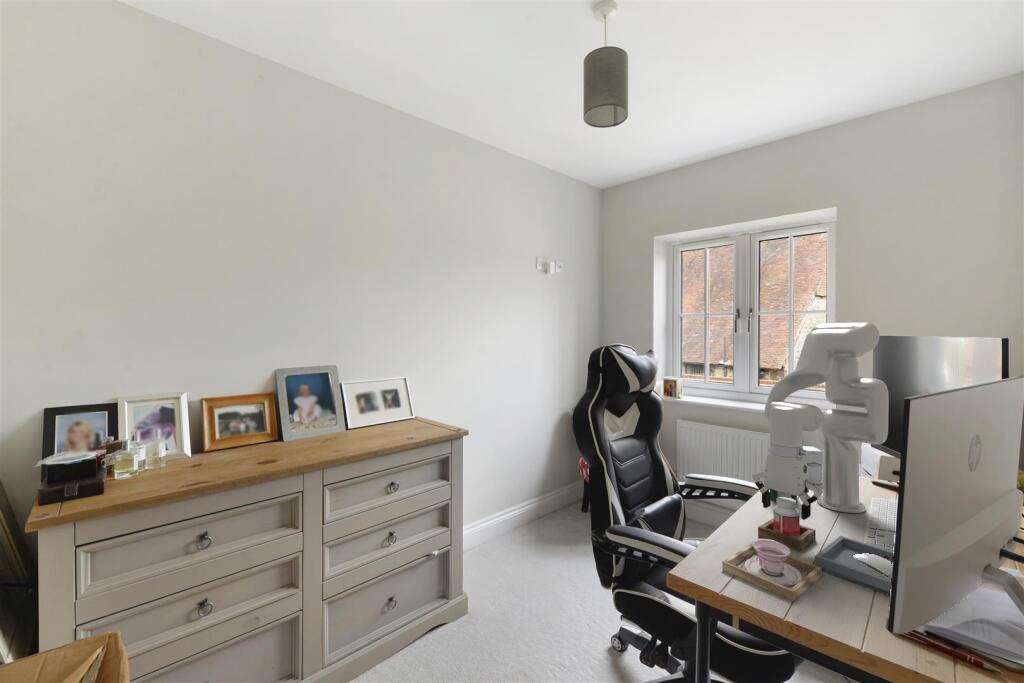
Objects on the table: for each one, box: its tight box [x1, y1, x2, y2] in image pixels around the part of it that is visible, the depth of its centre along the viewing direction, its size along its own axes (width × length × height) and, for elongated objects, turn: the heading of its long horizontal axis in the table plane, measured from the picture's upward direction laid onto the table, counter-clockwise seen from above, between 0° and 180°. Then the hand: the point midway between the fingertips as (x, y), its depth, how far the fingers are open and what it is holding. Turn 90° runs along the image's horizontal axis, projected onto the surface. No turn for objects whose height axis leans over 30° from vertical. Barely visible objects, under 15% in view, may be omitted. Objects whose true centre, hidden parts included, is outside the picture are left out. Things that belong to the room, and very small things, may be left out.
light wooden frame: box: [721, 542, 823, 602], centre depth 104 cm, size 16×16×2 cm
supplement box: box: [802, 445, 823, 485], centre depth 165 cm, size 7×7×13 cm
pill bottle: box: [772, 497, 801, 538], centre depth 120 cm, size 6×6×11 cm
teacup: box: [744, 538, 803, 587], centre depth 104 cm, size 12×12×6 cm
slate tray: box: [814, 535, 894, 597], centre depth 104 cm, size 17×17×3 cm
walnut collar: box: [757, 517, 817, 553], centre depth 120 cm, size 10×10×3 cm
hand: (785, 512), depth 120 cm, fingers open, 9 cm apart
